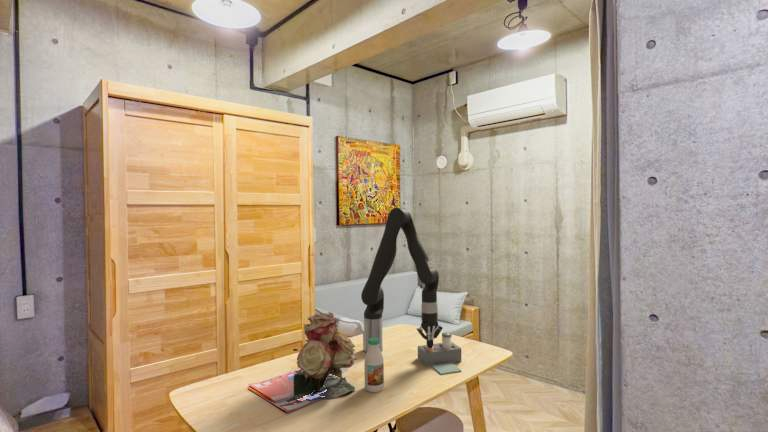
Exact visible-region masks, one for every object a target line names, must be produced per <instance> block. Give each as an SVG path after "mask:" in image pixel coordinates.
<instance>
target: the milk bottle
mask: <svg viewBox="0 0 768 432" xmlns="http://www.w3.org/2000/svg"><path fill="white" fill-rule="evenodd" d="M379 343H380V341H379V339H378V338H370V339H368V345H369V348H368V351H367V354H366V353H365V357H364V389H365V390H366V392H369V393H379V392H382V391H384V388H385V381H384V379H385V378H384V377H385V375H384V374H385V373H384V372H385V369H384V364H385V363H384V357H383V353H382V352H381V351H380V349H379V345H380V344H379Z"/></svg>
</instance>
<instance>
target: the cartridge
mask: <svg viewBox="0 0 768 432" xmlns="http://www.w3.org/2000/svg"><path fill="white" fill-rule="evenodd" d="M452 334H453V333H451V332H448V331H447V332H445V331H444V332H441V340H442V341H441V343H442V348H443V349H450V348H452V343H453V342H452V337H453V336H452Z"/></svg>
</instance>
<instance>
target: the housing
mask: <svg viewBox="0 0 768 432" xmlns="http://www.w3.org/2000/svg"><path fill="white" fill-rule="evenodd" d="M426 346H427V344H425V345H424V344H423V345H418V346H417V360H419V361H420V362H421V363H422V364H423V365H425V367H432V366H433V365H440V364H446V363H457V362H462V347H460V346H459V345H457V344H455V343H454V342H452V348H450V349H443V348H442V342H439V343H433V347H434V350H430V351H427V350H425V347H426Z"/></svg>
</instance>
